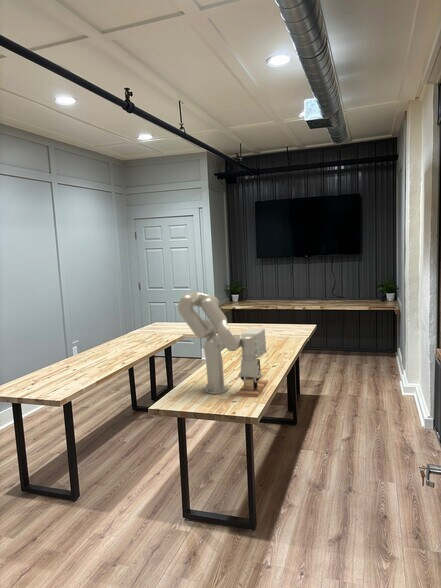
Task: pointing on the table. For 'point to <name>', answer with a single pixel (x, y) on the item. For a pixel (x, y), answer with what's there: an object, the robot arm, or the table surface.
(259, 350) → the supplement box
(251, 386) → the block
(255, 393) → the board
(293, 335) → the table surface
